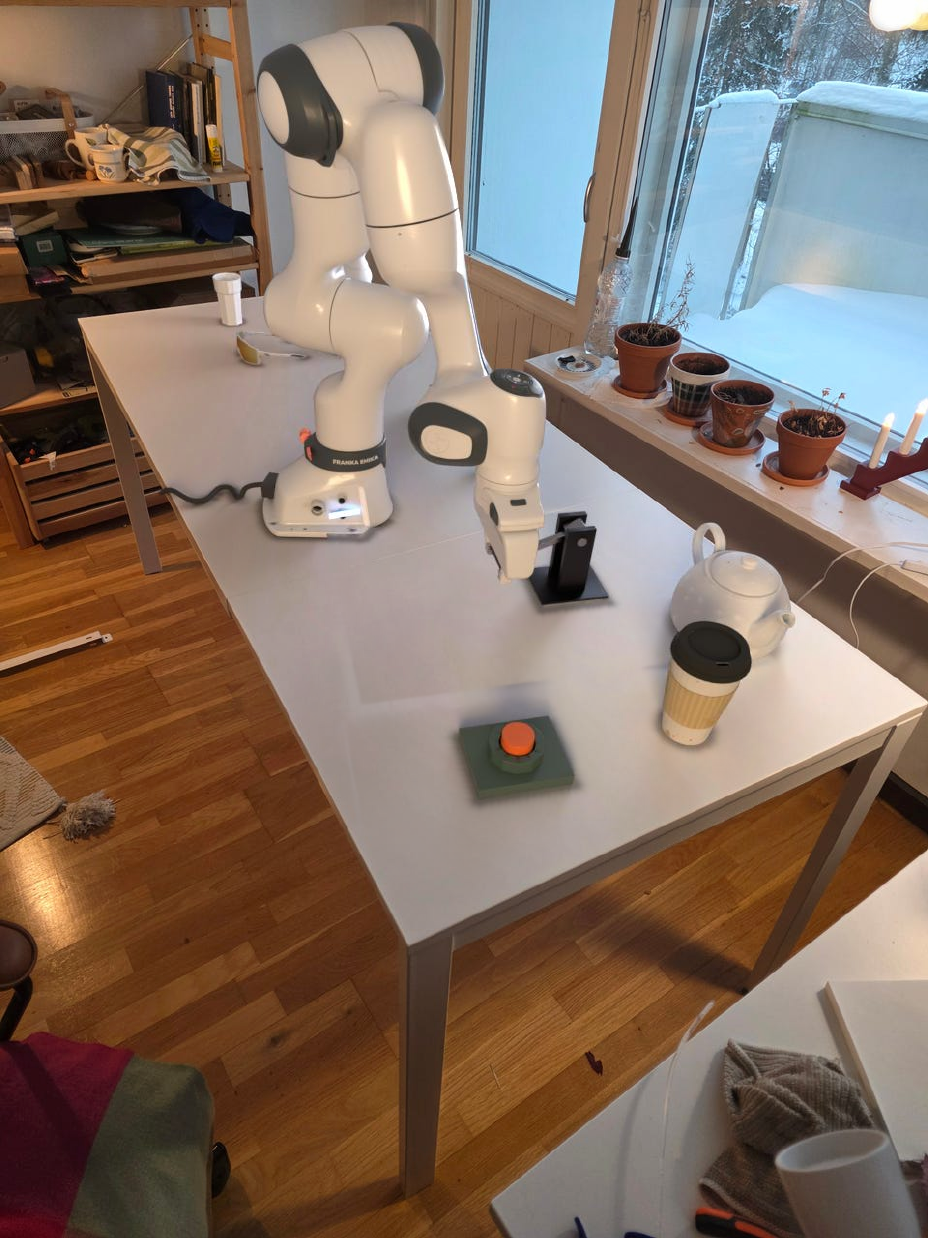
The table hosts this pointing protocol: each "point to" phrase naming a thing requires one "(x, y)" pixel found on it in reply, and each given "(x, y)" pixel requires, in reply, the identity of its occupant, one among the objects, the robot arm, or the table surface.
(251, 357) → the sunglasses
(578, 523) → the tap lever
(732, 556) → the teapot
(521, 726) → the button
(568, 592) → the lever stand
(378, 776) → the table surface
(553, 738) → the button box
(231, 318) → the cup
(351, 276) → the water bottle
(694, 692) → the coffee cup
